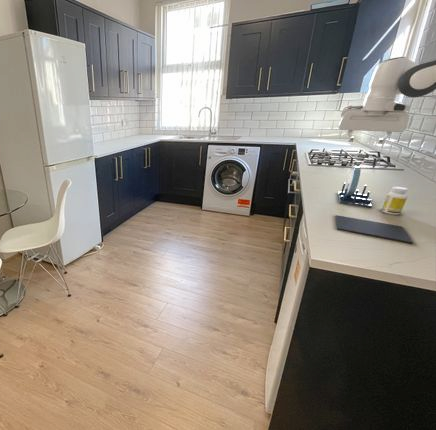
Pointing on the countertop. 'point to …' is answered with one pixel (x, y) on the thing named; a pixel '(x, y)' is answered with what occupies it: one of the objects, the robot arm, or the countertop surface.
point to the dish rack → (355, 198)
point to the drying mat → (372, 229)
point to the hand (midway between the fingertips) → (365, 142)
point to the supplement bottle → (395, 201)
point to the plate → (353, 180)
